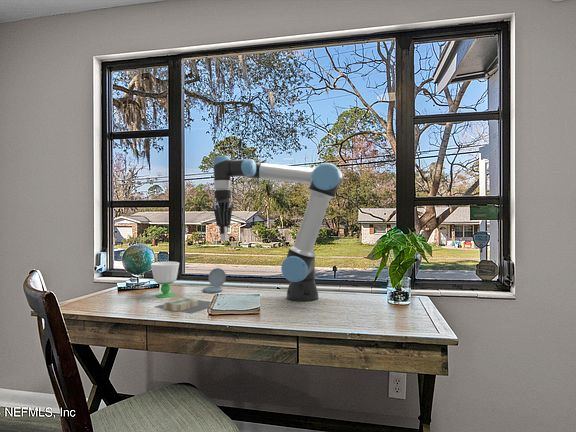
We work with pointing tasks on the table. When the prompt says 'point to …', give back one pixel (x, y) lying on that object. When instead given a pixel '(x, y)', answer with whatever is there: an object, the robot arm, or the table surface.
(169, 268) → the cup
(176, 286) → the table surface
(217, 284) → the grey upright round piece
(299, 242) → the robot arm
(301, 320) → the table surface
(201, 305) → the mat
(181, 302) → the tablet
